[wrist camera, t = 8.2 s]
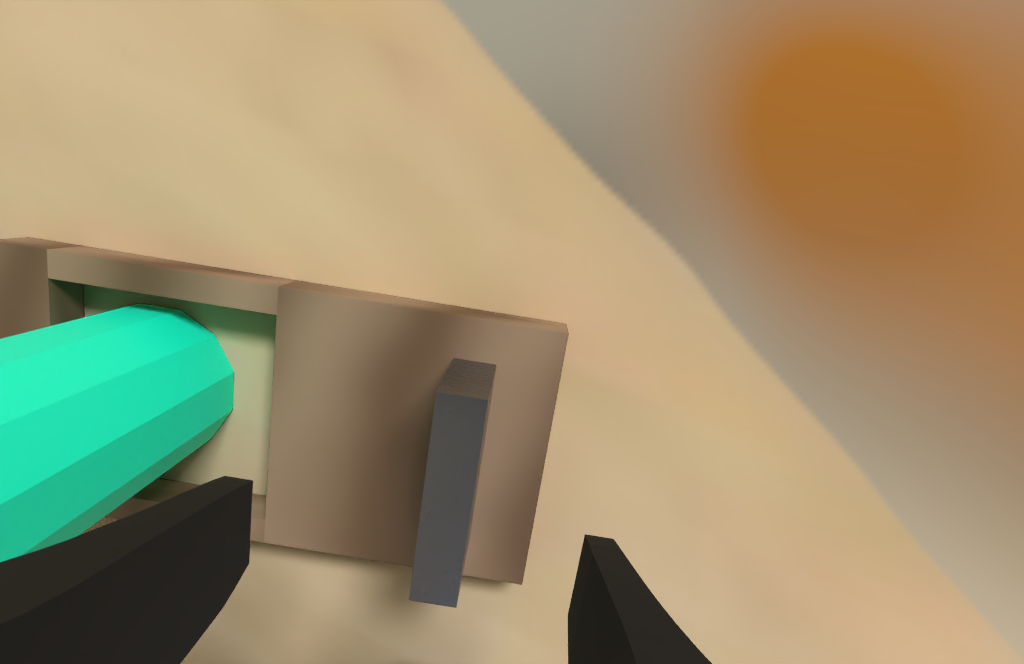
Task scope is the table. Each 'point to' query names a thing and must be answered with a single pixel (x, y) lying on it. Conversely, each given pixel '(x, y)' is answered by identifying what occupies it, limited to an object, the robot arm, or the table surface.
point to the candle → (100, 416)
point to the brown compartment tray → (356, 410)
